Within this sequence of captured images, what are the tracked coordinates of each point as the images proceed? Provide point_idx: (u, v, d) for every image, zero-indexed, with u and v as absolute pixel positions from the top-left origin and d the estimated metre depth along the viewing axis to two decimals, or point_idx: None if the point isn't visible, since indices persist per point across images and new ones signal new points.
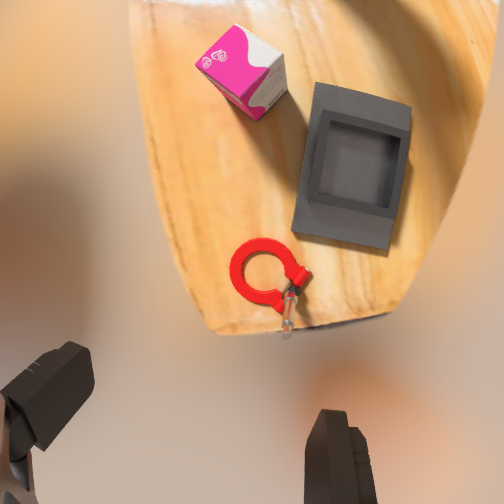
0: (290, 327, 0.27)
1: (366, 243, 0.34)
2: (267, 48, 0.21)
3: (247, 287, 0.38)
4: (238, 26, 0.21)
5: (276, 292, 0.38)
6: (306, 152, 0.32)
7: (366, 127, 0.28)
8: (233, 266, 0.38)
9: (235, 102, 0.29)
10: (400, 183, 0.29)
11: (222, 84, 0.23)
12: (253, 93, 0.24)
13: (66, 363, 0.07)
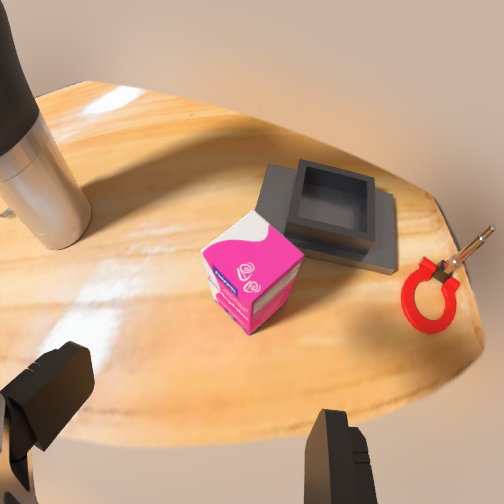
0: (485, 230, 0.24)
1: (392, 209, 0.37)
2: (244, 221, 0.23)
3: (445, 314, 0.31)
4: (206, 247, 0.22)
5: (444, 286, 0.33)
6: (322, 251, 0.34)
7: (301, 189, 0.34)
8: (430, 328, 0.30)
9: (275, 304, 0.28)
10: (344, 171, 0.36)
11: (285, 271, 0.22)
12: None
13: (66, 363, 0.07)
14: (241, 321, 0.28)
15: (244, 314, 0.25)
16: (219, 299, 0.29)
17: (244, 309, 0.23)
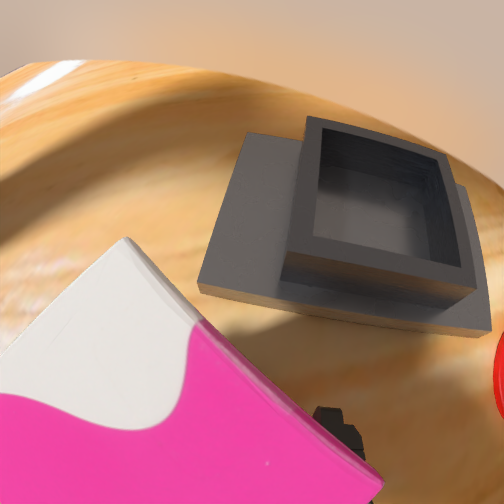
0: None
1: (470, 212, 0.18)
2: (76, 306, 0.04)
3: None
4: None
5: None
6: (366, 311, 0.14)
7: (317, 172, 0.15)
8: None
9: None
10: (395, 139, 0.17)
11: None
12: None
13: None
14: None
15: None
16: None
17: None
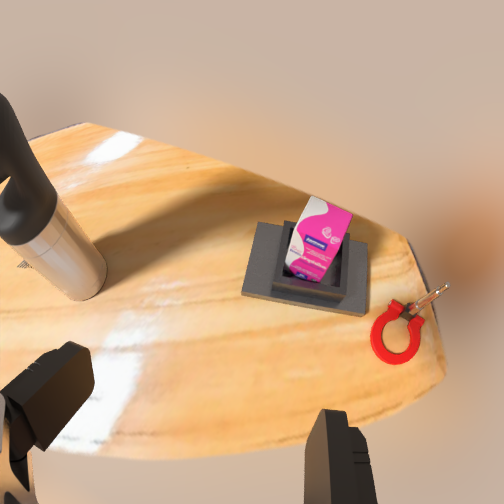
0: (441, 286, 0.32)
1: (365, 258, 0.45)
2: (311, 204, 0.35)
3: (409, 348, 0.39)
4: (297, 225, 0.34)
5: (410, 324, 0.40)
6: (303, 302, 0.41)
7: (285, 250, 0.42)
8: (395, 360, 0.38)
9: None
10: None
11: (347, 226, 0.34)
12: None
13: (66, 363, 0.07)
14: (315, 274, 0.40)
15: (324, 264, 0.37)
16: (294, 265, 0.41)
17: (327, 259, 0.35)
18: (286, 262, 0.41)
